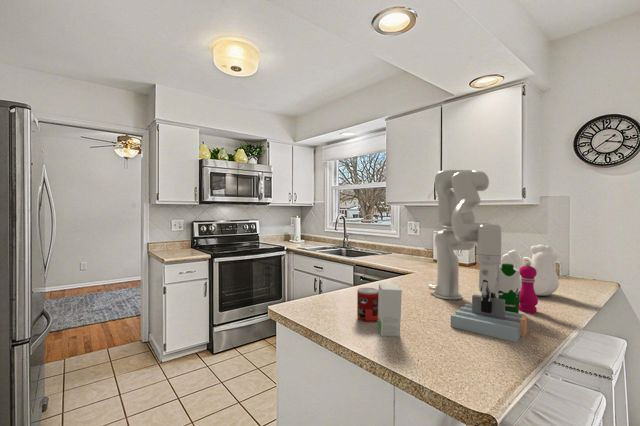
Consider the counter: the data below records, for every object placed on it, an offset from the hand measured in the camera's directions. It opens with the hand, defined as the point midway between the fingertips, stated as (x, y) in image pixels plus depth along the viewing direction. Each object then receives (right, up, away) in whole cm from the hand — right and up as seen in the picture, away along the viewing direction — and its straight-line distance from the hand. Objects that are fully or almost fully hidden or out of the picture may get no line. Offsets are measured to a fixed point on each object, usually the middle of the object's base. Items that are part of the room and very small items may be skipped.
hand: (488, 309), depth 110 cm
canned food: (-42, -6, +7) cm, 43 cm away
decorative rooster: (+45, -6, +46) cm, 64 cm away
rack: (0, -6, 0) cm, 6 cm away
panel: (0, -5, 0) cm, 5 cm away
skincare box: (-36, -6, -6) cm, 37 cm away
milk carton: (+15, -6, +14) cm, 21 cm away
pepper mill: (+26, -6, +18) cm, 32 cm away
